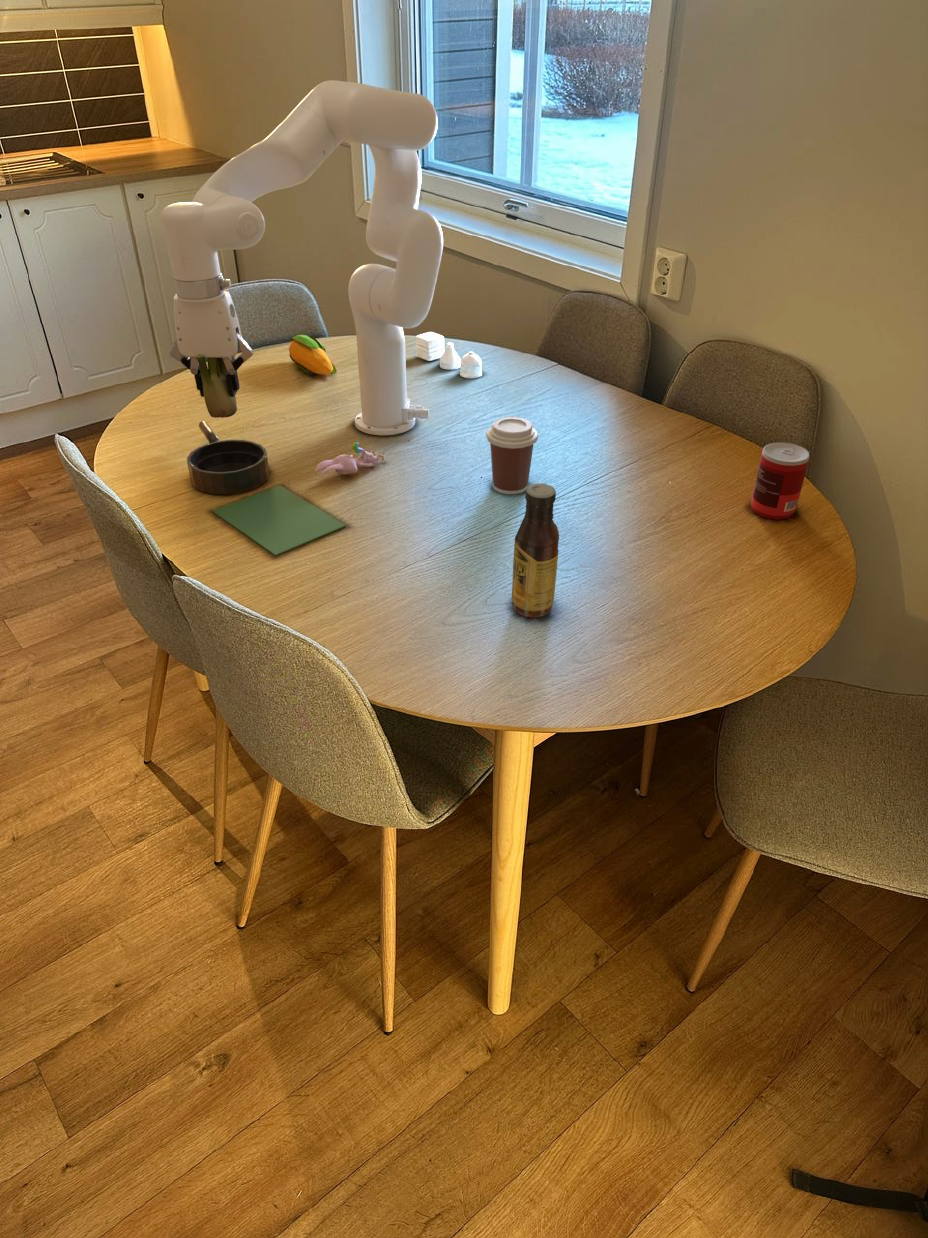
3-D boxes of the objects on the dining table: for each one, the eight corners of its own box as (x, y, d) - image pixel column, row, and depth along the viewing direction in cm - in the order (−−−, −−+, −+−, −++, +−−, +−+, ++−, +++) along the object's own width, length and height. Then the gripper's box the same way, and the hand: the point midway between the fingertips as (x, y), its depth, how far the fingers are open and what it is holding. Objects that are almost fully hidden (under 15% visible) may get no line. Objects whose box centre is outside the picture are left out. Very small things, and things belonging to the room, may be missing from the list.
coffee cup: (542, 480, 162) (546, 419, 155) (524, 501, 156) (527, 438, 149) (497, 471, 165) (498, 410, 158) (477, 491, 159) (478, 429, 152)
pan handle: (223, 449, 166) (222, 441, 165) (214, 451, 166) (212, 443, 165) (207, 427, 175) (206, 418, 174) (198, 429, 174) (196, 420, 173)
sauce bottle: (508, 597, 131) (513, 477, 120) (549, 595, 132) (558, 475, 120) (514, 622, 126) (520, 500, 114) (557, 620, 126) (567, 498, 115)
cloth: (345, 526, 148) (345, 525, 148) (275, 556, 141) (275, 554, 140) (280, 486, 160) (280, 485, 160) (212, 511, 152) (211, 510, 152)
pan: (276, 461, 168) (273, 440, 166) (260, 496, 157) (256, 474, 154) (203, 460, 169) (199, 438, 166) (181, 495, 157) (177, 472, 155)
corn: (307, 324, 212) (344, 348, 198) (312, 355, 216) (348, 380, 203) (278, 332, 209) (314, 356, 195) (284, 363, 213) (320, 388, 200)
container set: (415, 357, 216) (415, 335, 212) (431, 352, 219) (431, 330, 215) (470, 379, 204) (470, 356, 200) (486, 374, 207) (487, 351, 203)
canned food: (796, 502, 156) (810, 445, 149) (794, 523, 150) (809, 465, 143) (751, 495, 158) (764, 439, 151) (748, 516, 152) (761, 458, 145)
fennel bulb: (210, 423, 153) (197, 356, 146) (203, 413, 157) (190, 347, 149) (243, 416, 155) (231, 350, 148) (235, 407, 159) (223, 341, 152)
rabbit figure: (368, 462, 171) (306, 475, 161) (370, 432, 168) (307, 444, 158) (389, 472, 168) (328, 486, 158) (392, 442, 165) (330, 455, 155)
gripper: (255, 279, 145) (271, 385, 156) (155, 280, 146) (178, 385, 157) (245, 293, 139) (262, 402, 150) (140, 293, 140) (165, 402, 151)
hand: (219, 392), depth 153 cm, fingers closed on fennel bulb, 4 cm apart
